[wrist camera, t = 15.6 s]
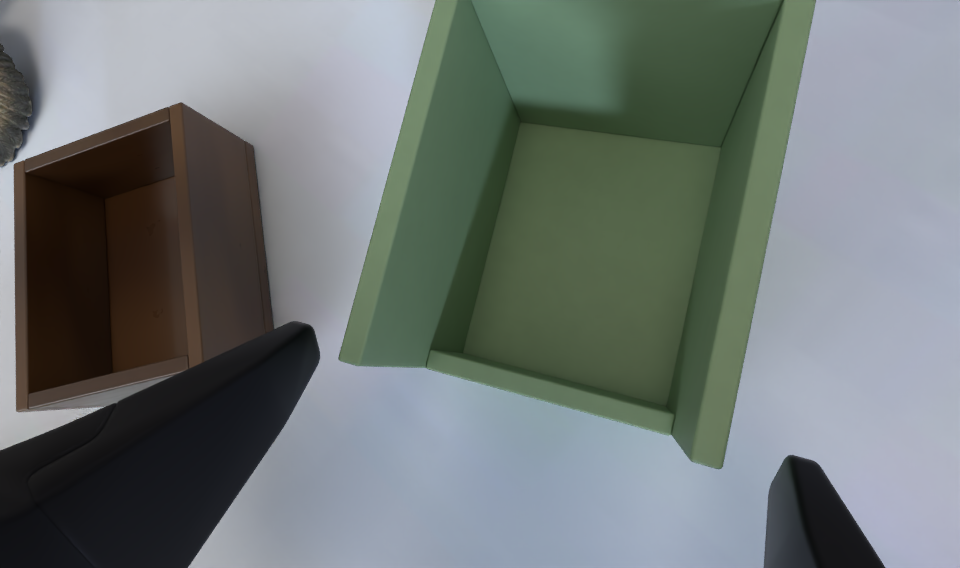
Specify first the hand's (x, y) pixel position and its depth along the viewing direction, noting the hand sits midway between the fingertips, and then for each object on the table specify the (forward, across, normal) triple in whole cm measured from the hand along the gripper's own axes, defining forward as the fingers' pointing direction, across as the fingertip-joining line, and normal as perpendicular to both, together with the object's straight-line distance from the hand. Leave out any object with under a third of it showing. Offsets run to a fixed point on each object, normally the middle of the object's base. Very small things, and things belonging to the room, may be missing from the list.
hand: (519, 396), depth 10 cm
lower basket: (+5, +14, +4) cm, 16 cm away
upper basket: (+7, 0, +2) cm, 8 cm away
